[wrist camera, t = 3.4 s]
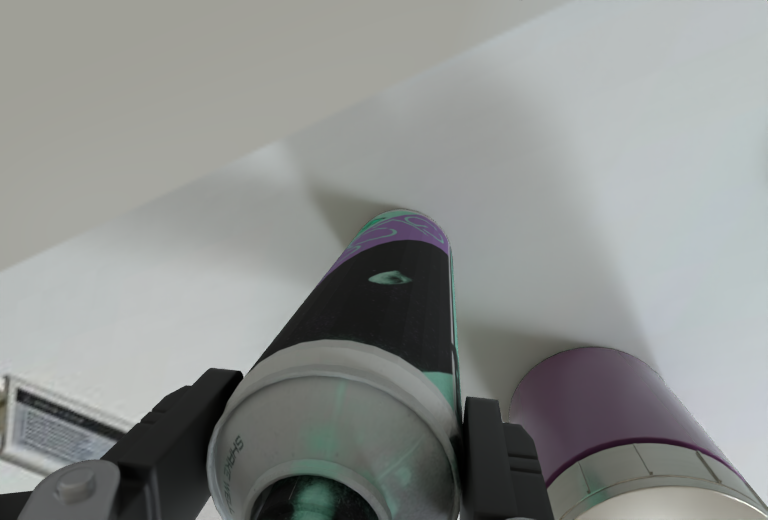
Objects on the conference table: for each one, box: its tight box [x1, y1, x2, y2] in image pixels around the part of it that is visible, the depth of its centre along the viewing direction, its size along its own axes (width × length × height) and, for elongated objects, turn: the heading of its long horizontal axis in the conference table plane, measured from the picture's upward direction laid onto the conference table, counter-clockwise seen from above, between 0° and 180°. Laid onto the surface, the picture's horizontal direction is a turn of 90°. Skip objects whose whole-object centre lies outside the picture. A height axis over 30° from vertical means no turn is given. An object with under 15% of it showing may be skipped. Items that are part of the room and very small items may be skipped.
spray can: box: [206, 209, 465, 520], centre depth 17 cm, size 6×6×20 cm
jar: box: [509, 347, 746, 489], centre depth 23 cm, size 9×9×10 cm
